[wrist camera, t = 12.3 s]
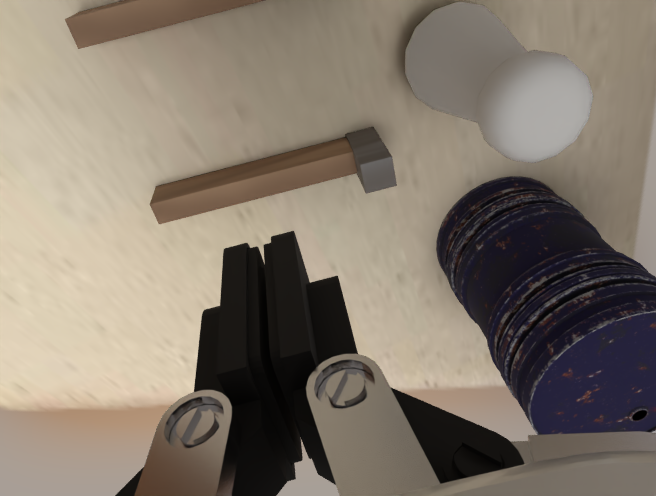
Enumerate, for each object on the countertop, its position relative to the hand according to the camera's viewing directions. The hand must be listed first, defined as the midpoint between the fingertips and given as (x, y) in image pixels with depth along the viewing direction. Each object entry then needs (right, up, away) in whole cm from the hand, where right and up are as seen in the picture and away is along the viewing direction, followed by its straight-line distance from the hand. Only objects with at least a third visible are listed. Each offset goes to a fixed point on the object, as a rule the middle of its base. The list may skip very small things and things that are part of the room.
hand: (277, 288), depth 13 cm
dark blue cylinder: (+14, +2, +26) cm, 30 cm away
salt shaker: (+8, +13, +19) cm, 24 cm away
